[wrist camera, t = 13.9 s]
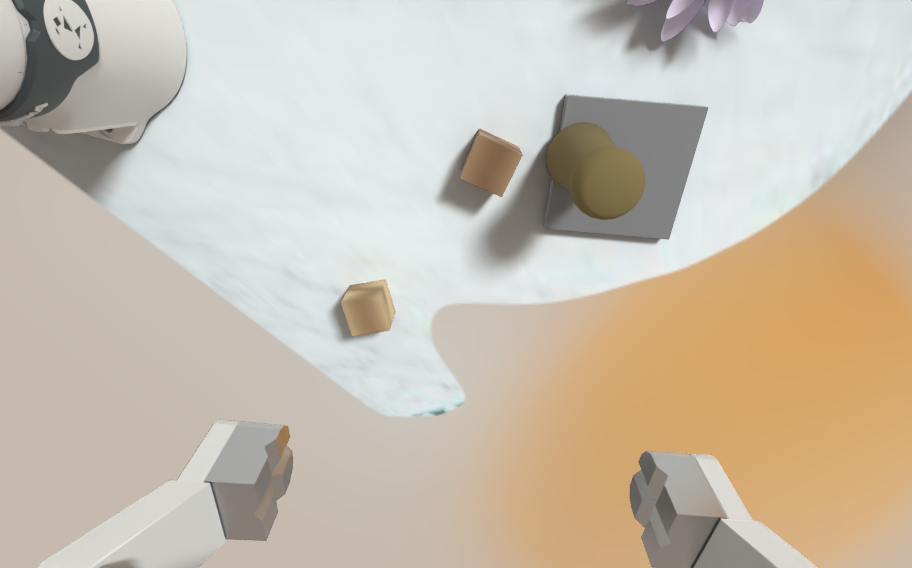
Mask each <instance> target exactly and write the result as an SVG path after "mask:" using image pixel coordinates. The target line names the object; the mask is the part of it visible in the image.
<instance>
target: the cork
mask: <svg viewBox="0 0 912 568" xmlns="http://www.w3.org/2000/svg"><path fill="white" fill-rule="evenodd" d="M546 166H547V169H548V172H549V174H550V176H551V178H552V179H553V180H554V181H555V182H556V183H557V184H558V185H560V186H562V187H563V188H565V189H566V190H568V191H570V193H571V196H572V199H573V202H574V203H575V205H576V206H577V207H578V208H579V210H580V211H581V212H583V213H584V214H586V215H588V216H589V217H592V218H596V219H600V220H609V219H615V218H618V217H620V216H623V215H625V214H626V213H628V212H629V211H630V210H632V209H633V208H634V207H635V206H636V204H637V203H638V202H639V200H640V199H641V197H642V194H643V192H644V189H645V180H646V177H645V173H644V170H643V166H642V164H641V162H640V161H639V160H638V158H637V157H636V156H635V155H634V154H632V153H631V152H629V151H627V150H626V149H624V148H620V147H616V146H615V144H614V142H613V141H612V139H611V138H610V136H609V135H608V134H607V132H606V131H605V130H604V129H602V128H601V127H599V126H598V125H596V124H592V123H588V122H581V123H574V124H572V125H570V126H567V127H565V128H563V129H562V130H561V131H560V132H559V133H558V134H557V135H555V137H554V138H553V140H552V142H551V143H550V145H549V148H548V151H547V155H546Z"/></svg>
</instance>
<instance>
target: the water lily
mask: <svg viewBox="0 0 912 568" xmlns="http://www.w3.org/2000/svg"><path fill="white" fill-rule="evenodd" d="M655 1H657V0H627V5H629V4H633V5H634V6H641V5H646V4H649V3H652V2H655ZM763 1H764V0H709V4H708V19H709V24H710V27H711V29H712V30H713V32H717V31H718V30H720V28H721V27H722V26H723V25H724V23H725V22H726V21H727V22H728V23H729V24H730V25H732V26H736V25H737V24H738V23H739V22H740V21H743V22H745V21H747V22H749V23H752V22H753V21H754V20H755V19H756V18H757V16H758V15H759V13H760V11H761V8H762V5H763ZM704 2H705V0H673V1H672V3H671V4H670V7H669V9H668V11H667V14H666V19H665V21H664V24H663V27H662V31H661V41H662V42H665V41H667V40H669V39H671V38H673V37H674V36H676V35H677V34H678V33H679V32H681V31H682V30H683V29H684V28H685V27H686V26H687V25H688V24H689V23H690V22H691V20H692V19H693V18H694V17H695V15H696V14H697V13H698V11H699V10H700V8H701V7H702V5H703V4H704Z"/></svg>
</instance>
